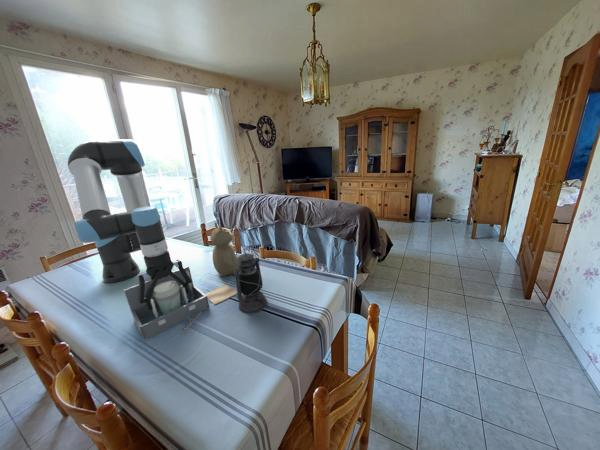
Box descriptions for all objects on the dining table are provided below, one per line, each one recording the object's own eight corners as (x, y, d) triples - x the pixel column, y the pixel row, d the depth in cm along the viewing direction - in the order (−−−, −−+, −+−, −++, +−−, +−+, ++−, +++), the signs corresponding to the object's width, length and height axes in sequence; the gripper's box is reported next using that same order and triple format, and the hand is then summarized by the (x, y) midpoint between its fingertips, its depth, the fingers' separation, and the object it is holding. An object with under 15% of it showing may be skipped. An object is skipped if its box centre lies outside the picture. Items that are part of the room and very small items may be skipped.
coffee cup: (175, 323, 86) (167, 293, 82) (154, 321, 88) (145, 292, 84) (190, 307, 94) (183, 280, 90) (171, 306, 96) (163, 279, 92)
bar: (184, 334, 81) (183, 331, 81) (181, 333, 81) (180, 330, 81) (202, 314, 90) (201, 311, 90) (199, 313, 91) (198, 311, 90)
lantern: (252, 318, 85) (239, 238, 76) (230, 309, 91) (216, 234, 82) (274, 299, 95) (265, 226, 86) (253, 292, 101) (242, 222, 91)
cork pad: (203, 295, 101) (203, 294, 101) (225, 285, 108) (225, 284, 108) (214, 305, 94) (214, 304, 94) (237, 293, 101) (237, 292, 101)
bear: (258, 273, 116) (251, 223, 108) (224, 285, 107) (214, 231, 100) (241, 258, 132) (235, 214, 125) (210, 268, 124) (201, 220, 116)
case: (134, 320, 89) (123, 289, 85) (194, 293, 103) (188, 265, 99) (144, 341, 79) (133, 307, 75) (210, 307, 93) (203, 277, 89)
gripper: (118, 268, 73) (139, 329, 80) (193, 244, 88) (205, 298, 95) (114, 261, 78) (134, 319, 85) (185, 240, 93) (197, 291, 100)
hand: (171, 308), depth 90 cm, fingers open, 10 cm apart
